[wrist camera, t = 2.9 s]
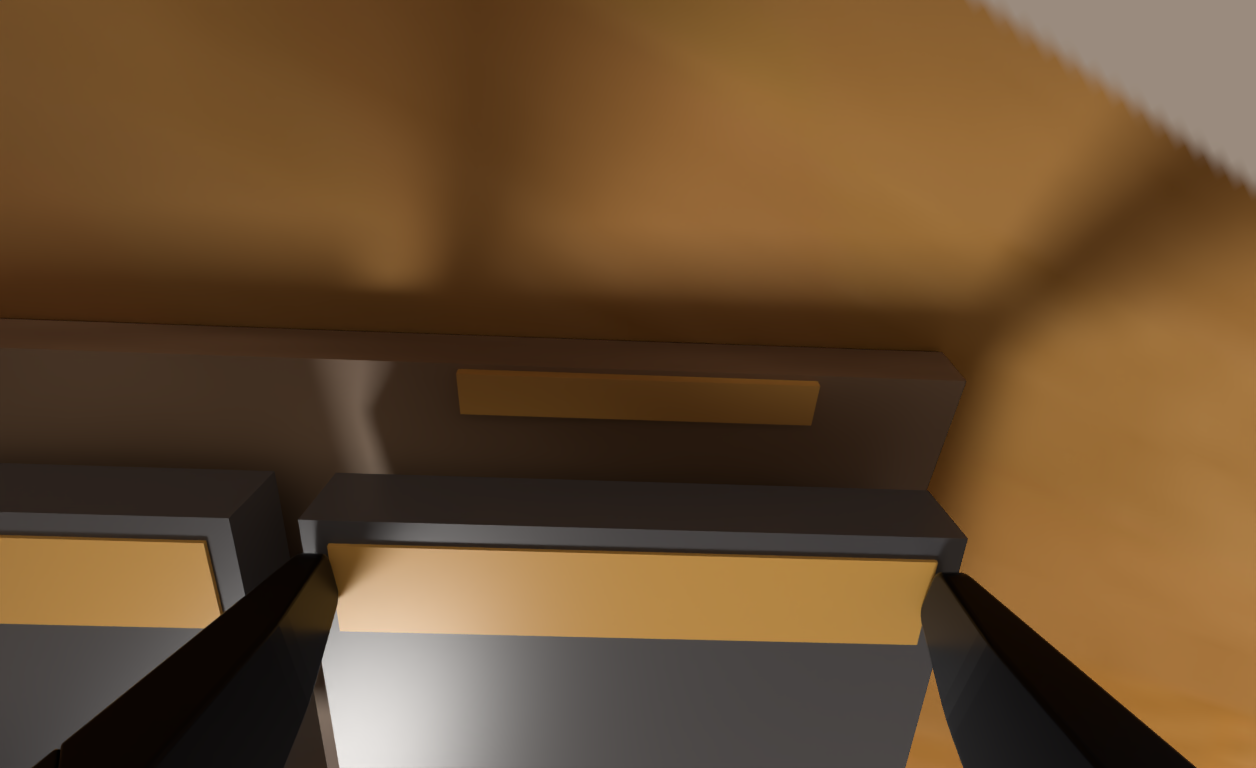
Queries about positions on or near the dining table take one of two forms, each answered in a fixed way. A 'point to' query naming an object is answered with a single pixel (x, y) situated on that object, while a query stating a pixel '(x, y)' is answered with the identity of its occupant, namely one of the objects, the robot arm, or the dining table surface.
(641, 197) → the dining table surface
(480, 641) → the rocker outer
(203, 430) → the switch unit
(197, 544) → the block
